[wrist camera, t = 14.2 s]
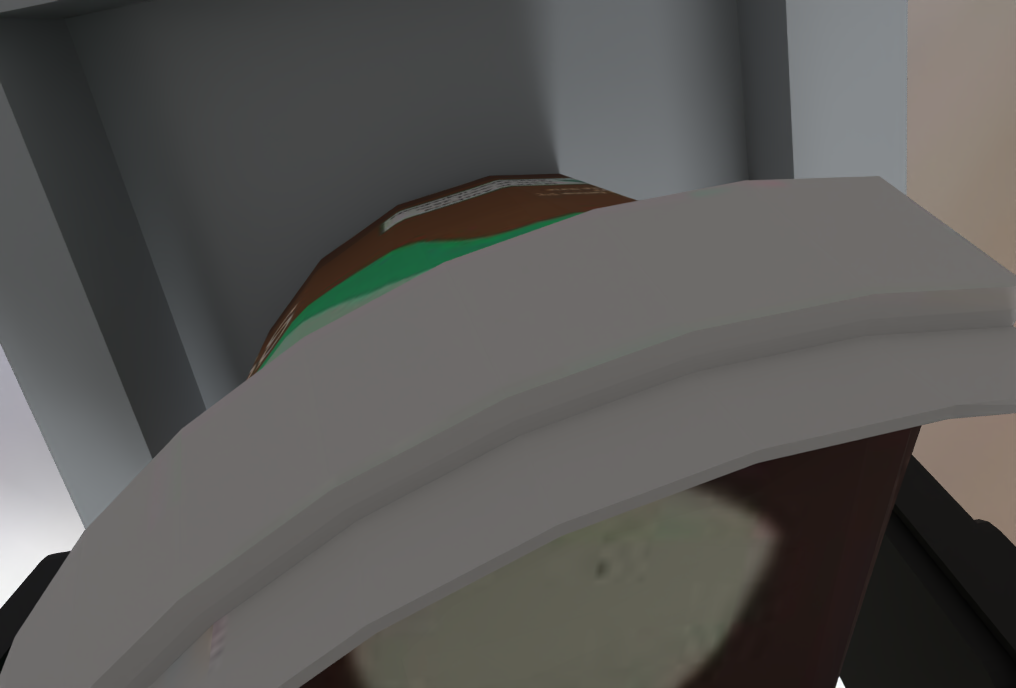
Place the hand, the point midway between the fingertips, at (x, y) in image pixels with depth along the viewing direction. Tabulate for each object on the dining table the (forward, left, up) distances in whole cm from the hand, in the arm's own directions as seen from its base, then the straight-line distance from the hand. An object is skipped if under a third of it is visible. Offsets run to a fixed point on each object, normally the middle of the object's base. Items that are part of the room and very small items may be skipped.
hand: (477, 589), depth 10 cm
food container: (0, +2, -5) cm, 5 cm away
